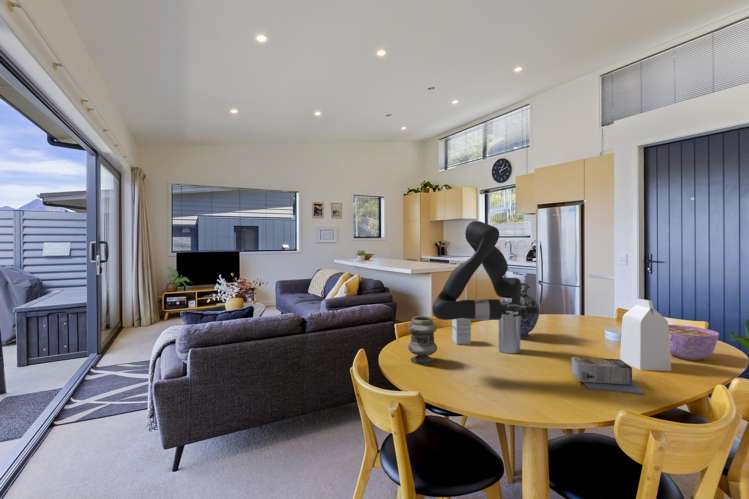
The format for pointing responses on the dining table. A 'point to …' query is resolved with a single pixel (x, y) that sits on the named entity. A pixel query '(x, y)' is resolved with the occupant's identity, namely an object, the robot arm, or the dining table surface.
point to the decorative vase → (530, 318)
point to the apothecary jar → (422, 339)
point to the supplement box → (461, 331)
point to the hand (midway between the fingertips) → (536, 309)
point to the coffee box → (601, 370)
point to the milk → (645, 338)
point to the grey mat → (614, 387)
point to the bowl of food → (691, 342)
